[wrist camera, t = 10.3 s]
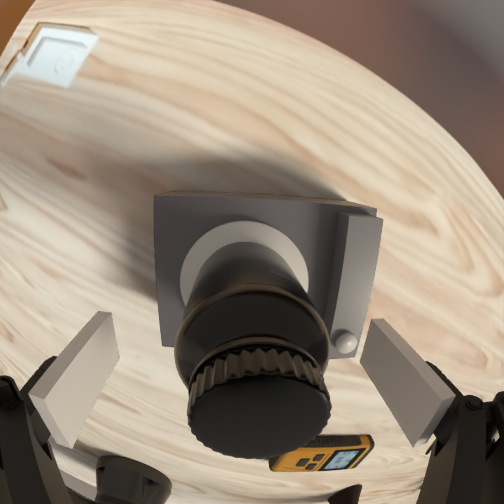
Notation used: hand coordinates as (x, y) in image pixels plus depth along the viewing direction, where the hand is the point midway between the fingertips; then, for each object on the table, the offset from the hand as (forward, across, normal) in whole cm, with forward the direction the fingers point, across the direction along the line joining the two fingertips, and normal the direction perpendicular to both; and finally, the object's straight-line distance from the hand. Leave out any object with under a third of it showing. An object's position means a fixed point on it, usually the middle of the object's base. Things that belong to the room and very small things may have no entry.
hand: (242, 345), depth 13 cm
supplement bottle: (+7, 0, 0) cm, 7 cm away
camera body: (+13, +2, 0) cm, 14 cm away
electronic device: (+14, +14, -31) cm, 37 cm away
